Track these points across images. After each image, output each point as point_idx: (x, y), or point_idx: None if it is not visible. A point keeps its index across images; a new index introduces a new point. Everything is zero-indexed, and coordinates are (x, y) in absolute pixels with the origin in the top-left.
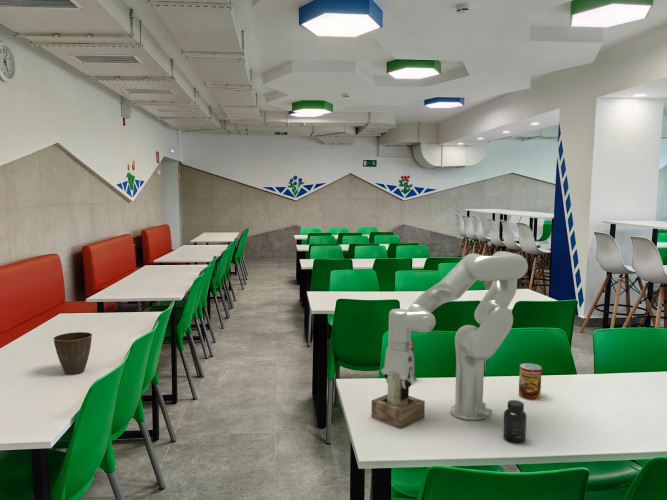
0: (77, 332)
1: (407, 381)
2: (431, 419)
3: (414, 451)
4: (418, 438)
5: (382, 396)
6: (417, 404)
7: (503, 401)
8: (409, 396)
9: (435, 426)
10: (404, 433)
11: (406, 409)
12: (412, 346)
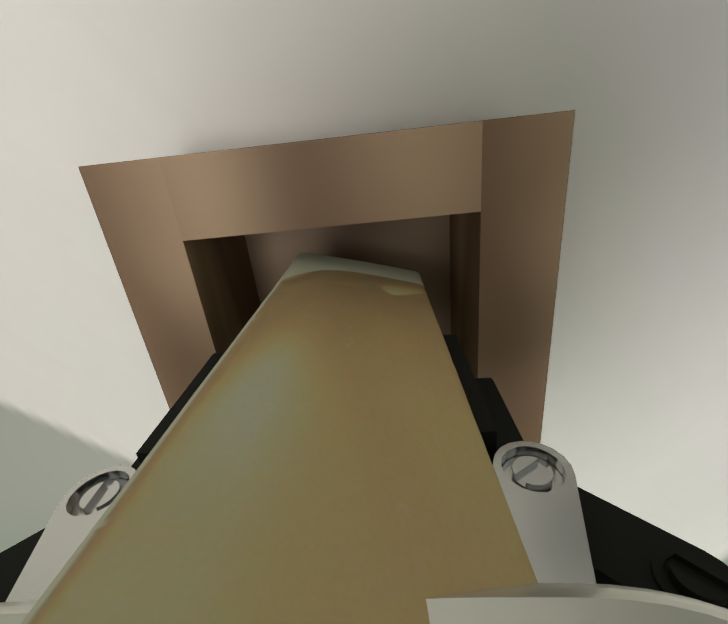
0: None
1: (541, 575)
2: (568, 91)
3: (705, 508)
4: (652, 406)
5: (168, 393)
6: (556, 266)
7: None
8: (325, 157)
9: (667, 182)
10: (548, 418)
11: (538, 425)
12: None
